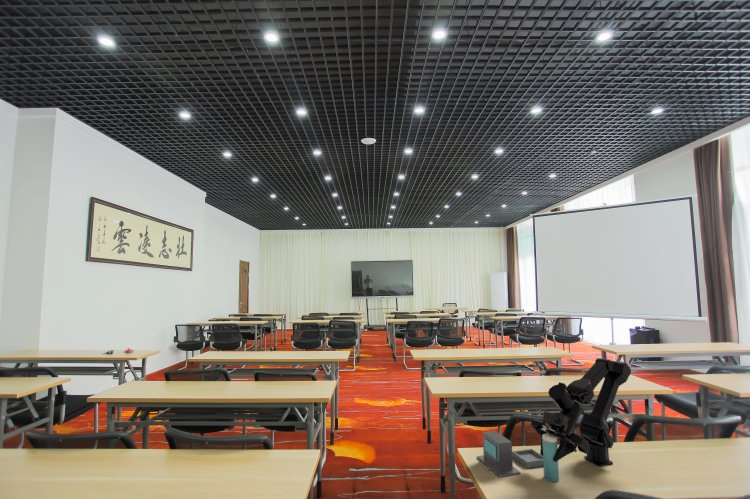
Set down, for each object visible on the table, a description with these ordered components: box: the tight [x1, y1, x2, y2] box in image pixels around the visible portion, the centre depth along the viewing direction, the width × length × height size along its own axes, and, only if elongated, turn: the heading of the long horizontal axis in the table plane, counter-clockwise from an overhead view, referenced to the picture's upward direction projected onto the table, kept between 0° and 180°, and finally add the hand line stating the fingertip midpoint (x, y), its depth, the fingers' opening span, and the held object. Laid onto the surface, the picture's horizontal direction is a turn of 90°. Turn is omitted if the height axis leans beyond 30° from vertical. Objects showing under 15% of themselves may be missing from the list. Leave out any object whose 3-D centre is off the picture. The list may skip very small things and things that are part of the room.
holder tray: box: [512, 448, 544, 469], centre depth 131 cm, size 9×9×2 cm
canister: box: [542, 434, 560, 483], centre depth 120 cm, size 4×4×13 cm
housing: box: [476, 430, 521, 478], centre depth 129 cm, size 8×14×10 cm, turn 15°
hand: (547, 458), depth 120 cm, fingers closed on canister, 4 cm apart
